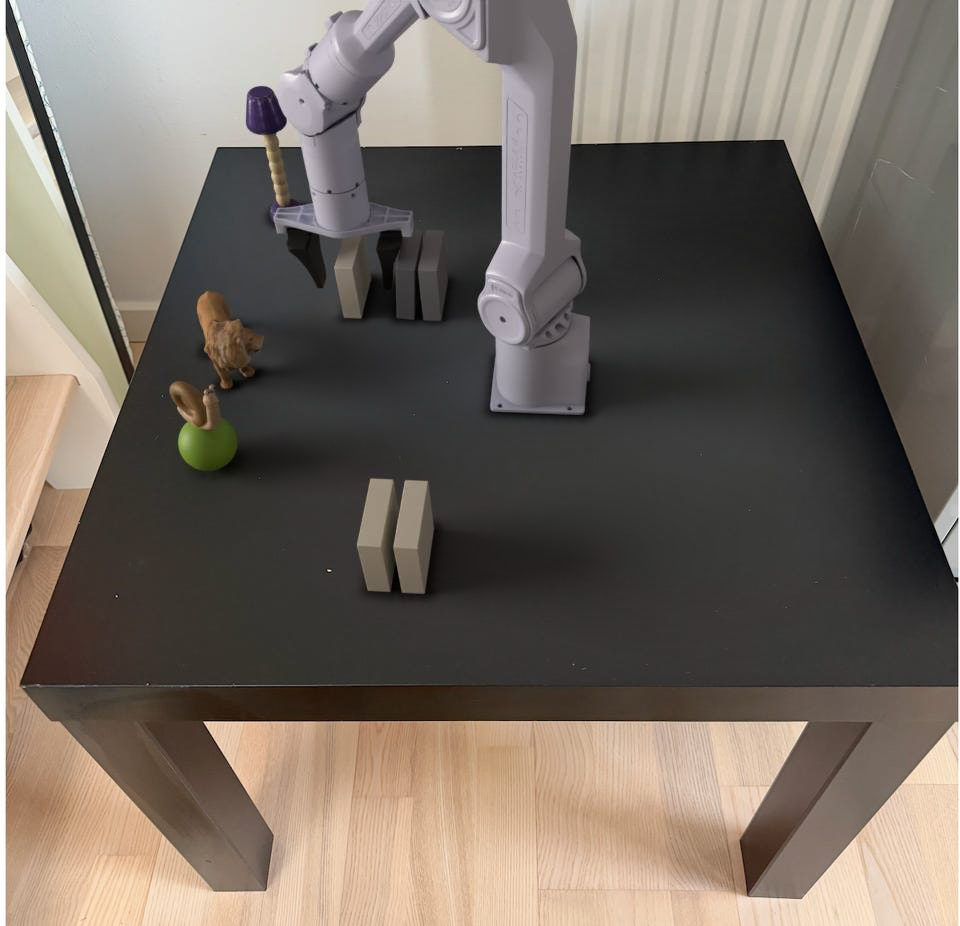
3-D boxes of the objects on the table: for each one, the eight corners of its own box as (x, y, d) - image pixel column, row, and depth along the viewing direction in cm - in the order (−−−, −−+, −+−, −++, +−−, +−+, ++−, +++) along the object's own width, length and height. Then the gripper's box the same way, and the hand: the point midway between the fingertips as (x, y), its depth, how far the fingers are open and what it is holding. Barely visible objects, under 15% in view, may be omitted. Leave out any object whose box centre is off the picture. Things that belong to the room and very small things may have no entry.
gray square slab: (447, 280, 105) (444, 230, 100) (441, 321, 101) (436, 270, 95) (430, 280, 105) (426, 229, 100) (423, 320, 101) (417, 270, 95)
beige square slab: (371, 278, 106) (363, 228, 100) (361, 318, 101) (352, 268, 96) (354, 277, 106) (345, 227, 101) (343, 318, 102) (334, 268, 96)
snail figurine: (224, 494, 86) (189, 408, 77) (175, 468, 88) (135, 381, 79) (262, 456, 89) (232, 369, 80) (213, 432, 91) (179, 344, 82)
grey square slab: (422, 279, 105) (422, 230, 100) (414, 320, 101) (414, 270, 95) (405, 278, 105) (404, 228, 100) (396, 318, 101) (395, 268, 96)
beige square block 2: (434, 528, 83) (428, 480, 77) (424, 594, 78) (417, 548, 73) (412, 527, 83) (405, 479, 78) (401, 592, 79) (393, 547, 73)
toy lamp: (314, 212, 114) (288, 86, 101) (290, 232, 112) (261, 105, 99) (285, 201, 116) (256, 76, 103) (261, 220, 114) (228, 94, 101)
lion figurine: (282, 390, 95) (263, 325, 88) (235, 411, 93) (212, 347, 86) (226, 313, 103) (205, 248, 96) (182, 332, 101) (157, 267, 94)
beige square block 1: (401, 526, 83) (393, 479, 78) (390, 592, 79) (381, 546, 73) (380, 525, 83) (370, 478, 78) (367, 590, 79) (356, 545, 73)
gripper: (412, 157, 94) (423, 262, 104) (275, 154, 95) (299, 259, 105) (403, 197, 89) (415, 303, 100) (259, 194, 90) (286, 299, 101)
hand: (355, 283), depth 102 cm, fingers open, 7 cm apart
